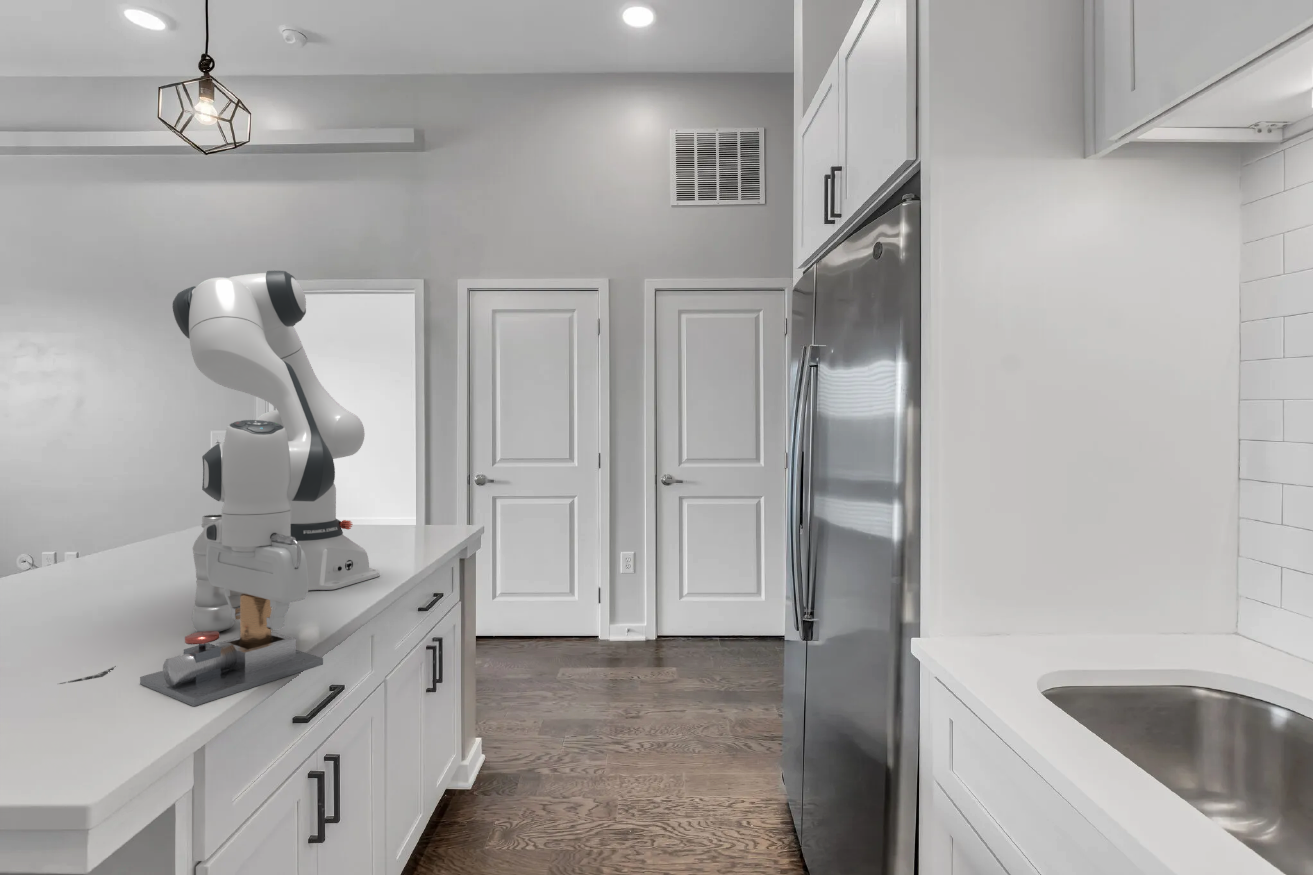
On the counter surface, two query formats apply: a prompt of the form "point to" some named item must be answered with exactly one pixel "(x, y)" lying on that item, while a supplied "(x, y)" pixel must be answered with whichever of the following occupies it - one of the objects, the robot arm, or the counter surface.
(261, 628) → the pipe stub
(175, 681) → the valve fitting
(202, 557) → the plastic bottle
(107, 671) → the dark thin curved piece
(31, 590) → the counter surface
